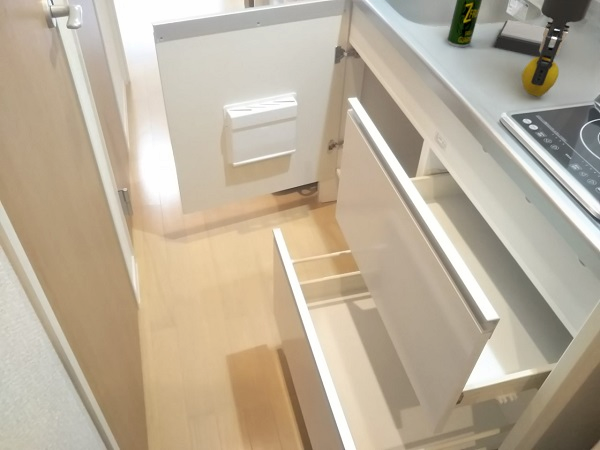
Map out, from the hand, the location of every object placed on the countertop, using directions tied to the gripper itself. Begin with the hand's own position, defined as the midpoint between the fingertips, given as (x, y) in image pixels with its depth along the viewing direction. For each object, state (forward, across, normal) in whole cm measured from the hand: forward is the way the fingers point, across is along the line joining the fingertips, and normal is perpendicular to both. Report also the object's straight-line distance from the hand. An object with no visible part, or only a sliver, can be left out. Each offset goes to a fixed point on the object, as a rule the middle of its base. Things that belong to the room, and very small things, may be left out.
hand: (539, 76), depth 101 cm
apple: (+4, 0, 0) cm, 4 cm away
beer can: (+4, +18, +19) cm, 27 cm away
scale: (+4, +26, +5) cm, 27 cm away
